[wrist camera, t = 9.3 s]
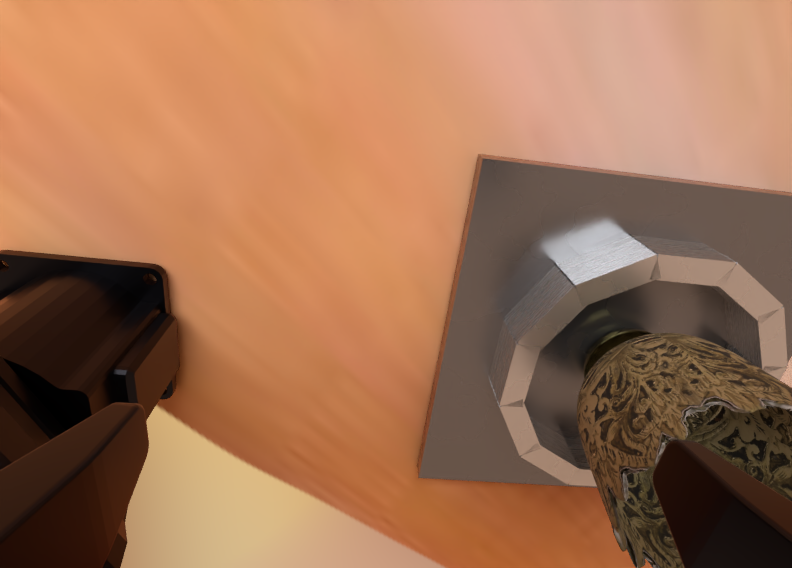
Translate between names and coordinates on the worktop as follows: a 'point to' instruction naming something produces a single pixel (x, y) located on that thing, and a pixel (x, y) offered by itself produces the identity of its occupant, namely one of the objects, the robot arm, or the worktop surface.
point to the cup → (674, 425)
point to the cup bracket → (590, 303)
